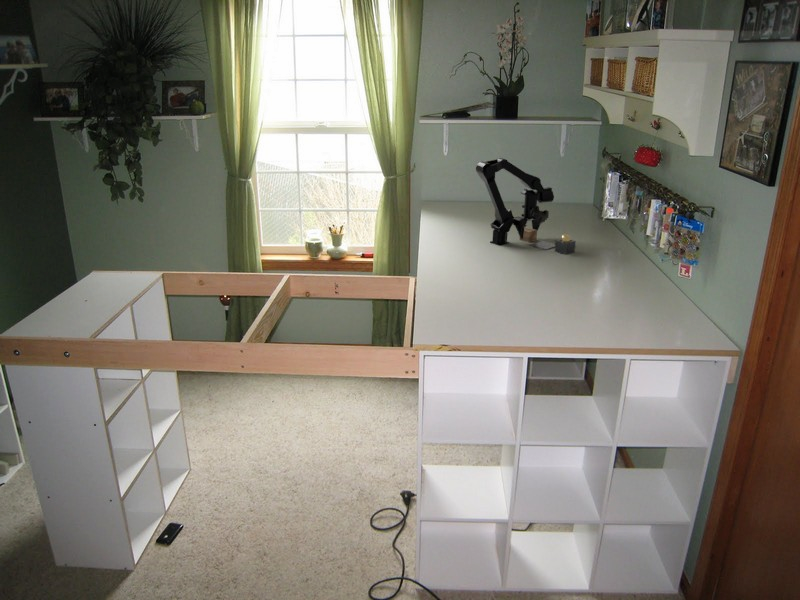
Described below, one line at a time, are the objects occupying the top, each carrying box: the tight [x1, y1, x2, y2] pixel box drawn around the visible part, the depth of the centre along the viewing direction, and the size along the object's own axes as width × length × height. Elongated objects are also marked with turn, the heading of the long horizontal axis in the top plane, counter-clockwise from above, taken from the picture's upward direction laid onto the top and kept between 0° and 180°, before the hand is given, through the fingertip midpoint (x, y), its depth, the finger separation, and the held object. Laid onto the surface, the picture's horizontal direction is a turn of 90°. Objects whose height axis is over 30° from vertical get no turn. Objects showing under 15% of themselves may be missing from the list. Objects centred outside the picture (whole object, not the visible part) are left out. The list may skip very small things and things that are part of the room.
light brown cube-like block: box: [519, 227, 538, 243], centre depth 301 cm, size 6×6×5 cm
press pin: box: [561, 233, 572, 242], centre depth 282 cm, size 4×4×5 cm
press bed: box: [529, 240, 556, 251], centre depth 293 cm, size 9×9×1 cm
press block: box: [554, 238, 577, 255], centre depth 283 cm, size 6×6×5 cm
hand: (528, 236), depth 301 cm, fingers open, 9 cm apart
